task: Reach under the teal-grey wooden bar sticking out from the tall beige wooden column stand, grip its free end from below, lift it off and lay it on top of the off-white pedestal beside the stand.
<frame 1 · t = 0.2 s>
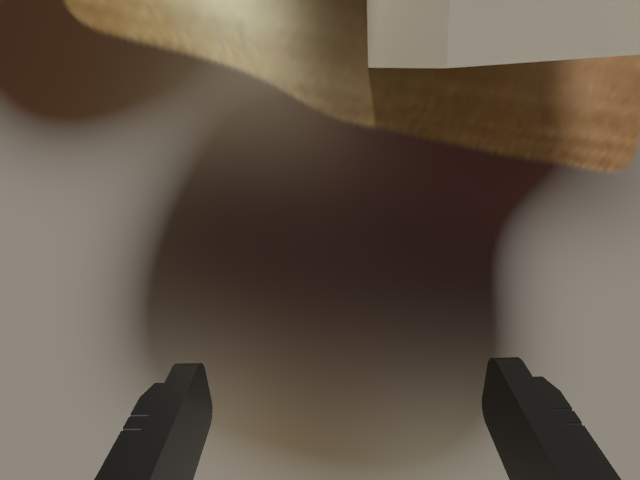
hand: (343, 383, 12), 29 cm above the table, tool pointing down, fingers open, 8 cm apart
base pedestal: (452, 15, 33), on the table
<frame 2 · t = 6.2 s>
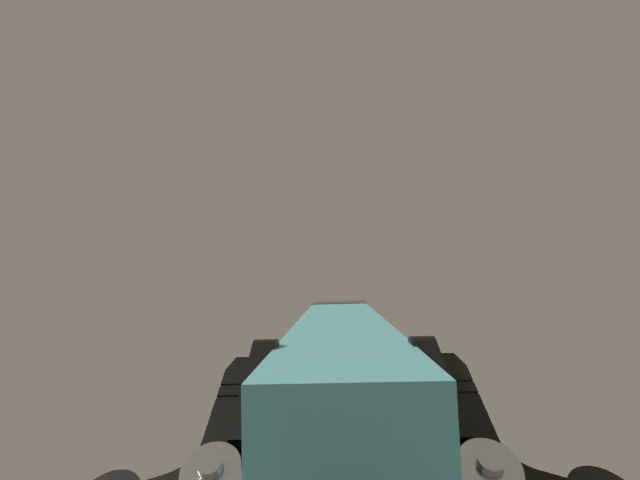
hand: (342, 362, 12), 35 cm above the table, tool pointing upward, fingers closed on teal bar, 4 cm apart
teal bar: (343, 398, 20), point 32 cm above the table, touching beige wooden column stand, gripper
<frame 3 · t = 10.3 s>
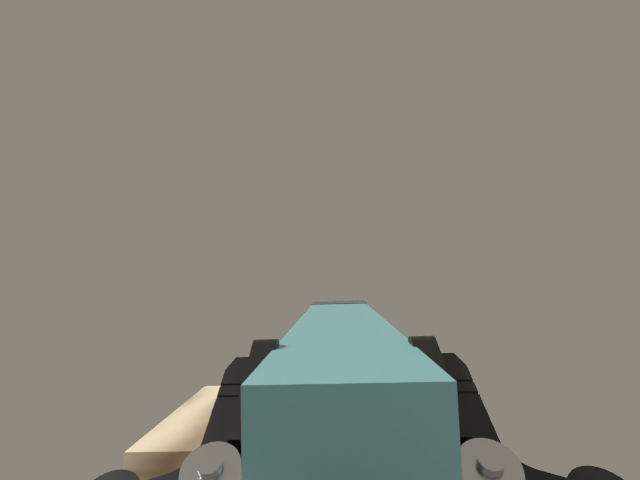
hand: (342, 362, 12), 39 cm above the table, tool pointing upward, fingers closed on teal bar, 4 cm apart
teal bar: (343, 398, 20), point 36 cm above the table, touching gripper
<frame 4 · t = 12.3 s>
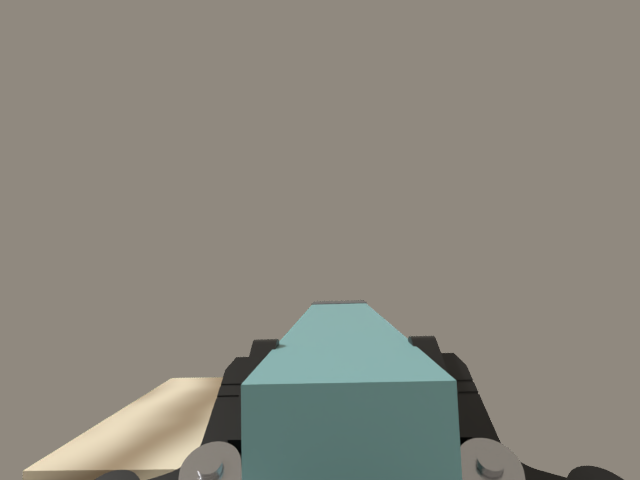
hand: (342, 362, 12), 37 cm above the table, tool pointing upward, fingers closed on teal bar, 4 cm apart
teal bar: (343, 398, 20), point 33 cm above the table, touching gripper
when the fingers open (29 cm above the table, at t = 14.3 s): teal bar drops 1 cm, resting on base pedestal.
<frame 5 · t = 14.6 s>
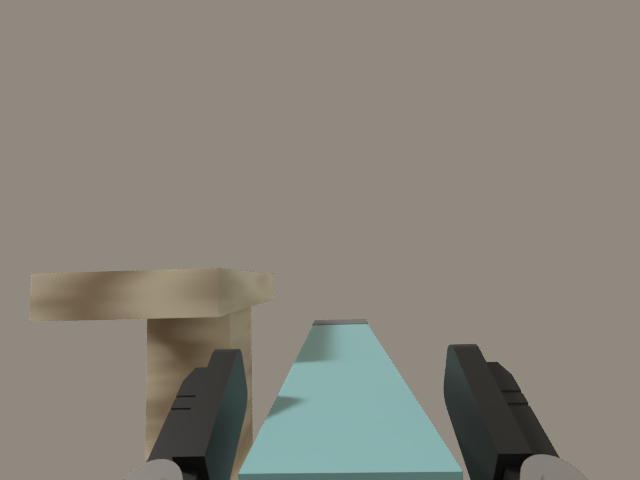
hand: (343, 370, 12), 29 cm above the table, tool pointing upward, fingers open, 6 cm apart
teal bar: (344, 431, 20), point 24 cm above the table, touching base pedestal
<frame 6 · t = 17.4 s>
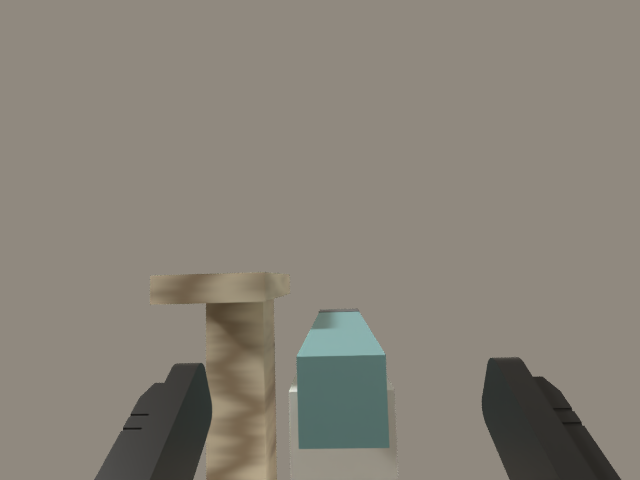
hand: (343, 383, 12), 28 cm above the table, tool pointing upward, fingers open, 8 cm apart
teal bar: (341, 376, 31), point 24 cm above the table, touching base pedestal
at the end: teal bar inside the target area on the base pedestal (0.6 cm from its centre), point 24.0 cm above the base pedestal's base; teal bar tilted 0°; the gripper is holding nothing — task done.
